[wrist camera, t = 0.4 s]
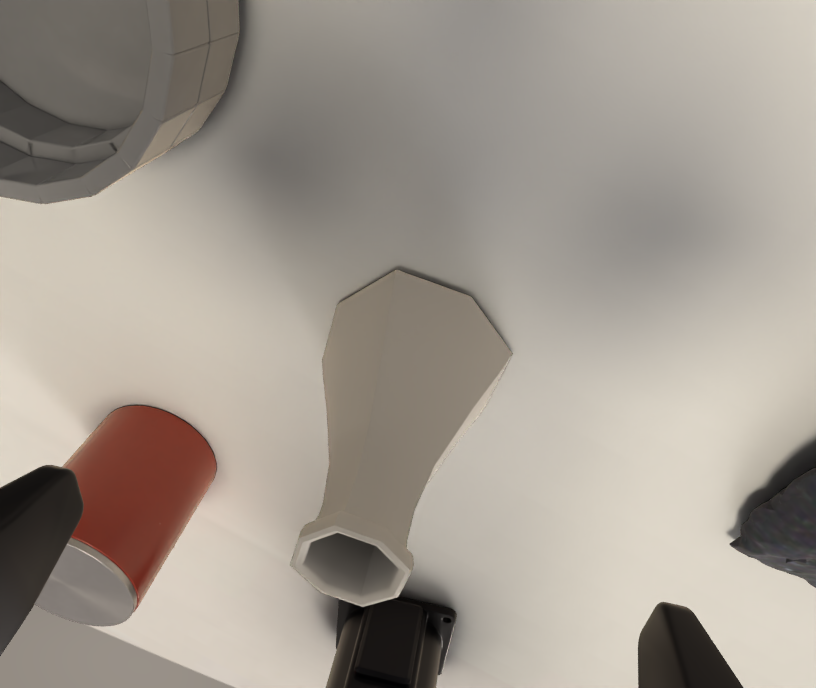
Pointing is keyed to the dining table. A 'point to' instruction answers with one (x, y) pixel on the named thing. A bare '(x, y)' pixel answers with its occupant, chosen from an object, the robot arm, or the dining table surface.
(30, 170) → the bowl
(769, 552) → the dark grey cloth
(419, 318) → the flask
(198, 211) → the dining table surface
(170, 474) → the tin can
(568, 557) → the dining table surface
